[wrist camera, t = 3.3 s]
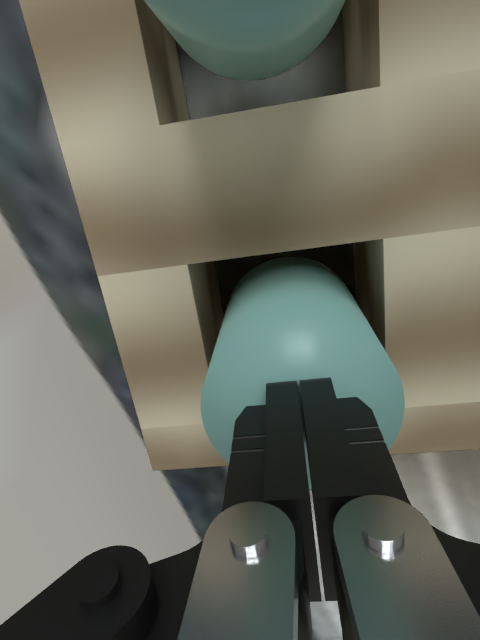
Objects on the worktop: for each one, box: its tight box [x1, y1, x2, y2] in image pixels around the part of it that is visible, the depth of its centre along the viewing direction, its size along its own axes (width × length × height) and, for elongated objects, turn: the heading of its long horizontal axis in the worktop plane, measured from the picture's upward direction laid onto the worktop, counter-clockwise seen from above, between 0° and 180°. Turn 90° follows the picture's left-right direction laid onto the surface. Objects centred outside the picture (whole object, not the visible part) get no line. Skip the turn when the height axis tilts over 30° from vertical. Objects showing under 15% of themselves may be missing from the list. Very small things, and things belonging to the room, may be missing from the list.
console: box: [19, 0, 480, 470], centre depth 13 cm, size 20×24×5 cm
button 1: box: [201, 257, 405, 490], centre depth 12 cm, size 5×5×6 cm
